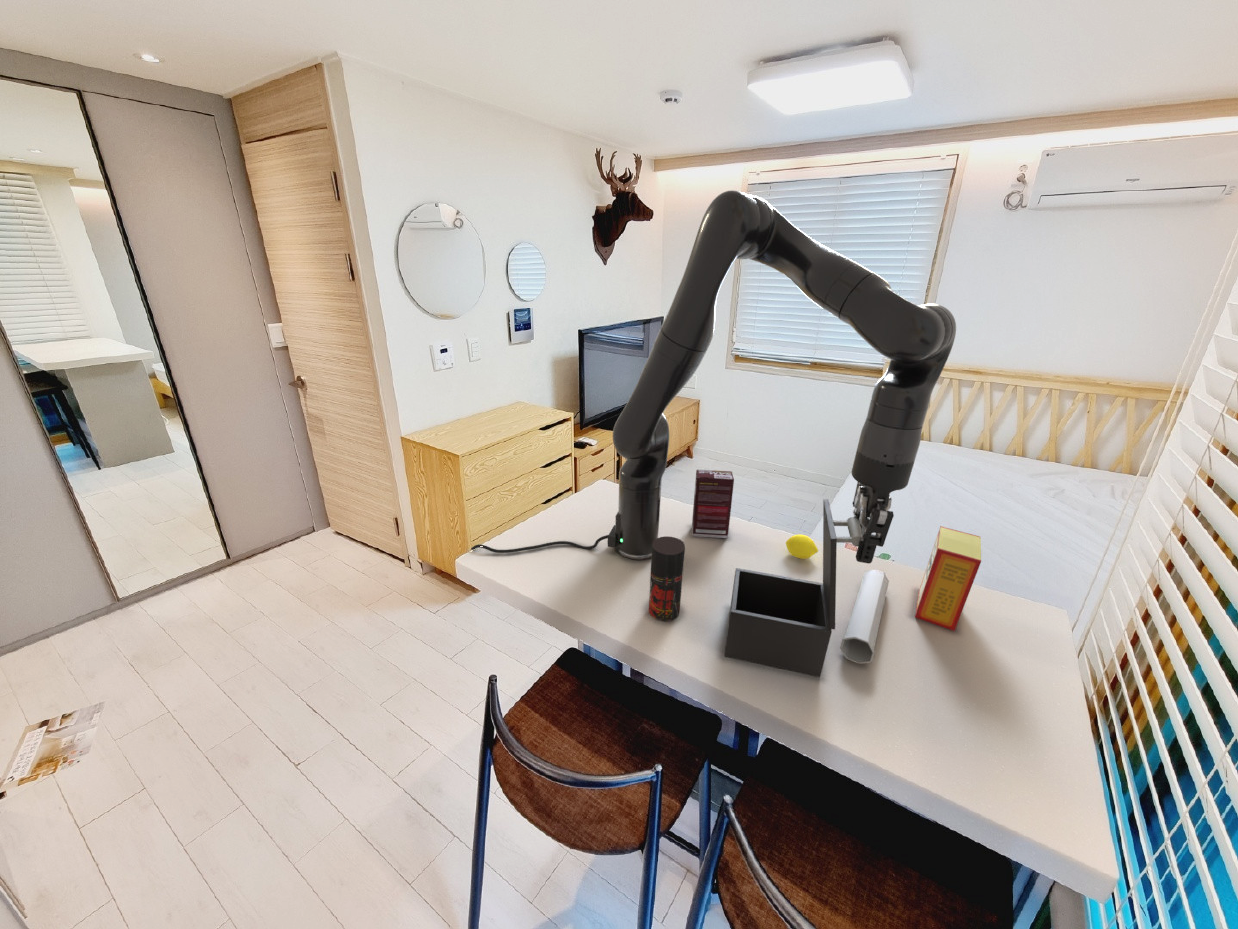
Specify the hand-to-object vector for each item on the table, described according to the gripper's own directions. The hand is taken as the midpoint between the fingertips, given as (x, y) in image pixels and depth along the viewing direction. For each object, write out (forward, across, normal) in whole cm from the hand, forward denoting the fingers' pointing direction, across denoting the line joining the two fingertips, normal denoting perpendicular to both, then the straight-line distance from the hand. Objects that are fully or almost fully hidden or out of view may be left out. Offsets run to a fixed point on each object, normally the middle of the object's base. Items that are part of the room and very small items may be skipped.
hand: (859, 549), depth 78 cm
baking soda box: (+22, -18, +21) cm, 35 cm away
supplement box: (+22, -33, -25) cm, 47 cm away
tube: (+22, -11, +7) cm, 25 cm away
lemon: (+22, -29, -4) cm, 37 cm away
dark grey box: (+22, 0, -10) cm, 24 cm away
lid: (+3, 0, -4) cm, 6 cm away
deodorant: (+22, -2, -30) cm, 37 cm away
